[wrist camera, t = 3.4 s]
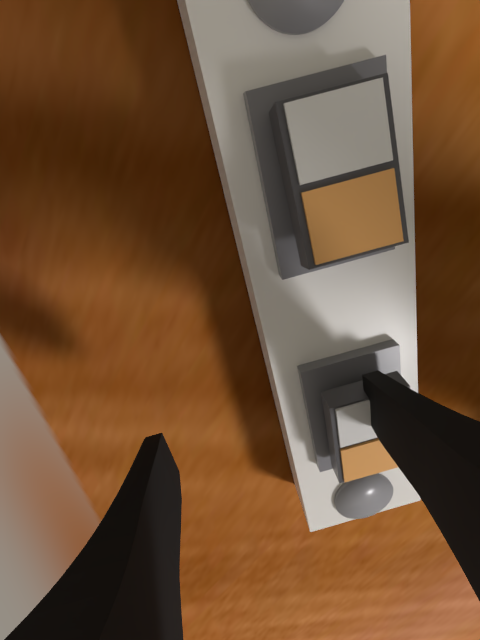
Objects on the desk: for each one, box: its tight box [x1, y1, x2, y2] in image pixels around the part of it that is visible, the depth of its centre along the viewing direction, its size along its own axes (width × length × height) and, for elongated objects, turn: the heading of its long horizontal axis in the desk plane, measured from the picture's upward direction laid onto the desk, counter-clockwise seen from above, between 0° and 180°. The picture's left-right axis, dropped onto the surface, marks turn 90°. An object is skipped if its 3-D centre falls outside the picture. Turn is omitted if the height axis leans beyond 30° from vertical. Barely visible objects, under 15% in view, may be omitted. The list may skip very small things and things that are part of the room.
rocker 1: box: [269, 73, 409, 270], centre depth 10 cm, size 4×3×1 cm
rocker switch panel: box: [177, 0, 420, 532], centre depth 15 cm, size 24×6×4 cm, turn 13°
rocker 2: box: [321, 371, 410, 483], centre depth 15 cm, size 4×3×1 cm
